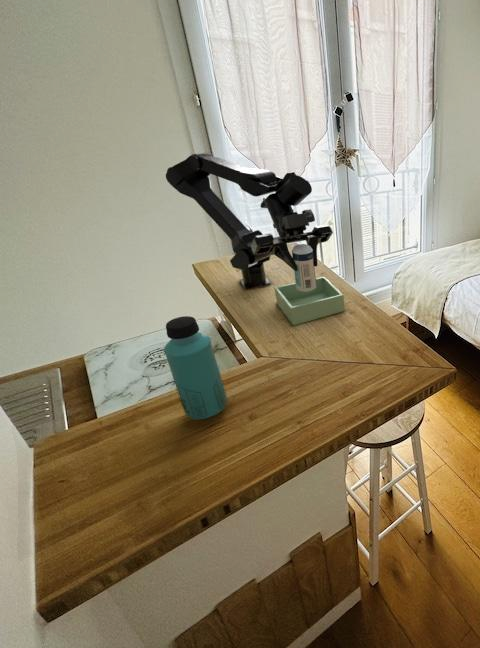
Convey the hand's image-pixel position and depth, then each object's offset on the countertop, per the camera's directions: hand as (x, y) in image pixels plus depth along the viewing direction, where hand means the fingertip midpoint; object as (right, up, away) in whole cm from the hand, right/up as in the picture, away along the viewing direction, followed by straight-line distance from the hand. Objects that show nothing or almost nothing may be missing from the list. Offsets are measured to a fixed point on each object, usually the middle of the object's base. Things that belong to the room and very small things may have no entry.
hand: (306, 268), depth 101 cm
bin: (-2, -11, +7) cm, 13 cm away
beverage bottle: (-4, -28, -29) cm, 40 cm away
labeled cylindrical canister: (-2, -6, +4) cm, 7 cm away
